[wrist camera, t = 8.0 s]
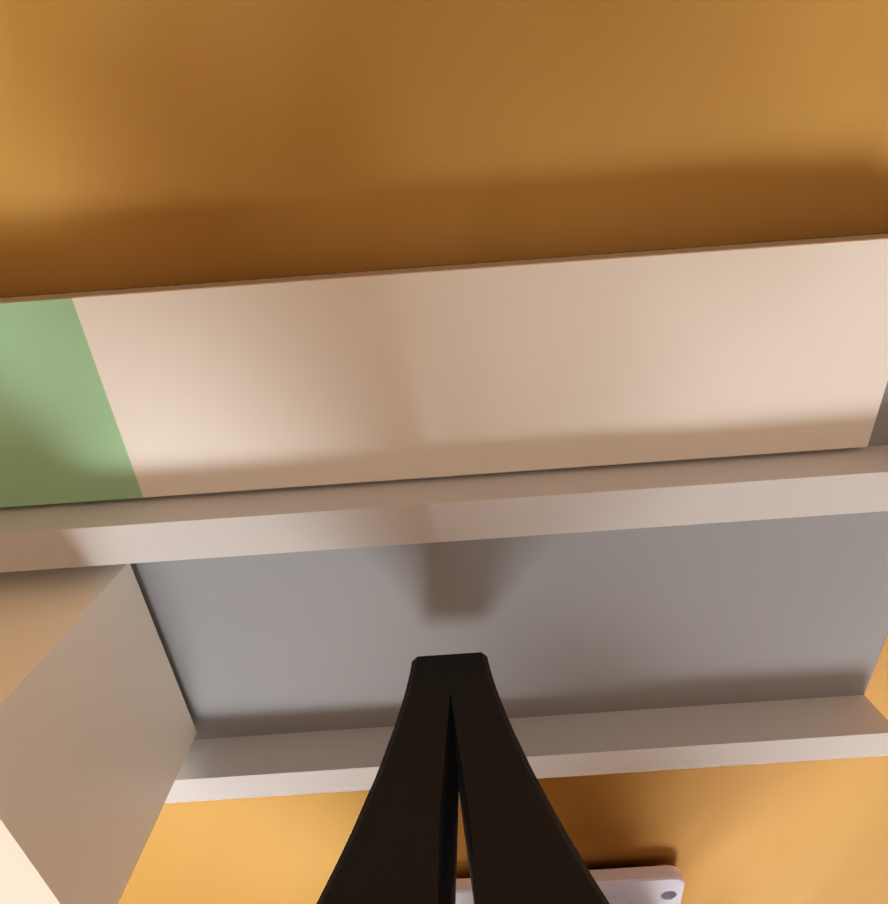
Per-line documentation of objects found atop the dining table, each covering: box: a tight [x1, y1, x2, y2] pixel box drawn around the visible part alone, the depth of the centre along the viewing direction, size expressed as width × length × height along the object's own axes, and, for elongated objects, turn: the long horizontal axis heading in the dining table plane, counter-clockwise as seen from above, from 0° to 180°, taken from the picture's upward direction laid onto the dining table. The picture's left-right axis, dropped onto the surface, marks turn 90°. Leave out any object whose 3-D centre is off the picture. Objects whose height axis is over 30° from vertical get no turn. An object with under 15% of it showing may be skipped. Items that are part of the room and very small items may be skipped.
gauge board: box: [0, 233, 888, 803], centre depth 9 cm, size 12×24×5 cm, turn 94°
